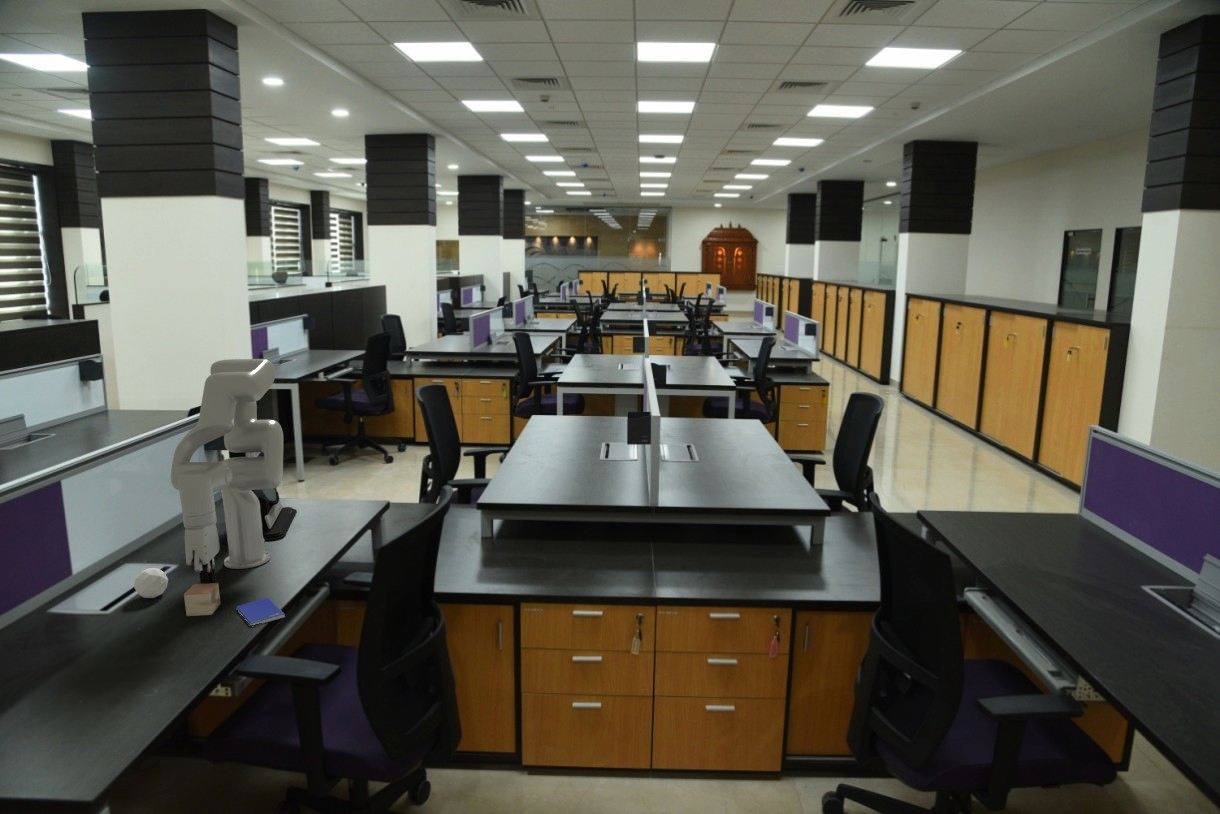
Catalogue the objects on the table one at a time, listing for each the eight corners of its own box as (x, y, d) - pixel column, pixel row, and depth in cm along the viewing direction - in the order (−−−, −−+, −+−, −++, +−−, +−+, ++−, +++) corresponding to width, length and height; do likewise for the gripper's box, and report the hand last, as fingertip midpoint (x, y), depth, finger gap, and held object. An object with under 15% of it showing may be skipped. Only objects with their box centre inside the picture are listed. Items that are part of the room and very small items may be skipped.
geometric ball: (159, 607, 208) (159, 590, 203) (128, 598, 207) (127, 582, 202) (173, 583, 214) (173, 567, 209) (143, 575, 213) (142, 558, 208)
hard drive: (284, 613, 196) (269, 597, 205) (250, 622, 191) (236, 606, 200) (285, 619, 196) (269, 602, 206) (250, 628, 191) (236, 611, 200)
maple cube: (196, 605, 203) (193, 584, 202) (220, 604, 203) (218, 582, 202) (186, 616, 197) (183, 594, 196) (211, 615, 198) (208, 592, 196)
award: (283, 540, 249) (274, 449, 243) (219, 545, 245) (209, 452, 239) (298, 510, 278) (290, 428, 272) (241, 514, 274) (232, 431, 268)
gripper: (196, 508, 206) (204, 573, 210) (171, 529, 192) (181, 598, 196) (226, 507, 207) (233, 571, 211) (203, 528, 193) (212, 596, 197)
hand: (208, 584), depth 204 cm, fingers closed
